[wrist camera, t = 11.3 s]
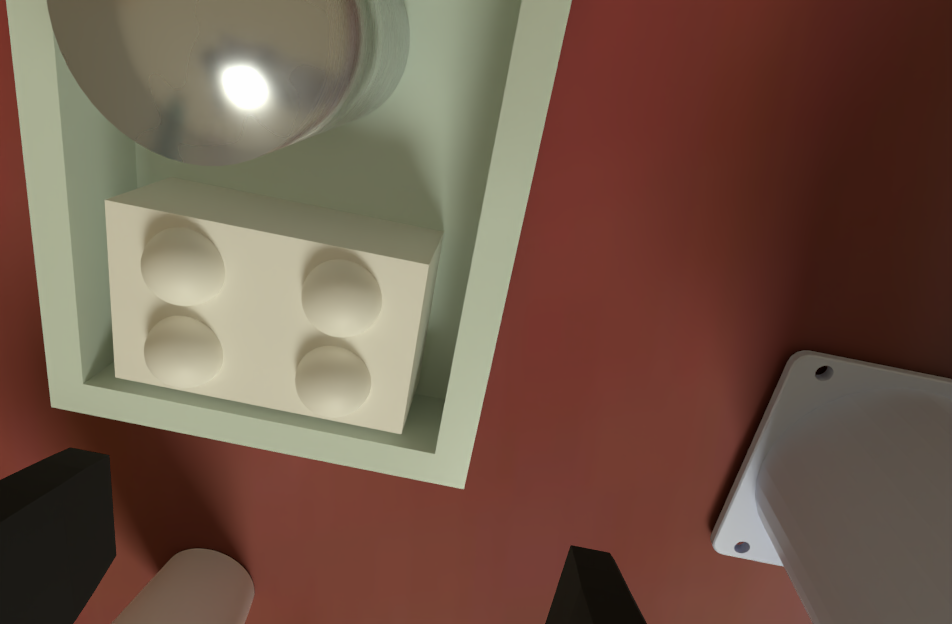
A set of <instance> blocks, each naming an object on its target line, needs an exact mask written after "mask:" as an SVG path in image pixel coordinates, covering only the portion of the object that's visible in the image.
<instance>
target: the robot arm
mask: <svg viewBox="0 0 952 624" xmlns="http://www.w3.org/2000/svg"><path fill="white" fill-rule="evenodd" d="M822 366H827V370H826V371H825V372H824V373H822V374H820V375H815V372H816V371H817V369H818V368H820V367H822ZM710 540H711V542H712V545H713V548H714V550H716V551H717V552H718V553H720V554H723V555H729V556H734V557H739V558H744V559H749V560H754V561H759V562H764V563H769V564H774V565H779V566H784V568H785V570H786V572H787V574H788V576H789V578H790V580H791V582H792V584H793V585H794V587H795V589H796V591H797V593H798V595H799V597H800V599H801V601H802V603H803V605H804V607H805V609H806V611H807V613H808V615H809V617H810V619H811V621H812V623H813V624H952V379H950V378H945V377H940V376H935V375H930V374H925V373H920V372H915V371H910V370H905V369H900V368H895V367H890V366H885V365H880V364H875V363H870V362H865V361H860V360H855V359H850V358H845V357H840V356H835V355H830V354H825V353H820V352H815V351H810V350H803V351H799V352H796V353H795V354H794V355H792V356H791V357H790V358H789V360H788V361H787V363H786V366H785V368H784V370H783V372H782V375H781V377H780V379H779V381H778V384H777V386H776V388H775V390H774V393H773V395H772V397H771V400H770V402H769V404H768V406H767V409H766V411H765V413H764V415H763V418H762V420H761V422H760V425H759V427H758V429H757V431H756V434H755V436H754V438H753V440H752V443H751V445H750V447H749V449H748V452H747V454H746V456H745V459H744V461H743V463H742V465H741V468H740V470H739V472H738V474H737V477H736V479H735V481H734V484H733V486H732V488H731V490H730V493H729V495H728V497H727V499H726V502H725V504H724V506H723V508H722V511H721V513H720V515H719V518H718V520H717V522H716V524H715V527H714V529H713V531H712V533H711V537H710ZM739 542H744V543H743V544H740V545H736V544H737V543H739ZM115 556H116V544H115V530H114V515H113V501H112V487H111V472H110V458H109V455H106V454H101V453H96V452H90V451H85V450H80V449H75V448H68V449H66V450H64V451H61V452H59V453H57V454H54V455H52V456H50V457H48V458H46V459H43V460H41V461H39V462H37V463H35V464H33V465H31V466H29V467H26V468H24V469H22V470H20V471H18V472H16V473H14V474H12V475H10V476H8V477H6V478H4V479H2V480H0V624H73V623H74V622H75V620H76V619H77V617H78V616H79V614H80V613H81V611H82V610H83V608H84V606H85V605H86V603H87V602H88V600H89V599H90V597H91V596H92V594H93V593H94V591H95V589H96V588H97V586H98V584H99V583H100V581H101V580H102V578H103V576H104V575H105V573H106V571H107V570H108V568H109V566H110V565H111V563H112V561H113V560H114V558H115ZM545 624H647V623H646V621H645V619H644V617H643V616H642V614H641V612H640V610H639V608H638V606H637V604H636V602H635V600H634V598H633V596H632V594H631V592H630V590H629V588H628V586H627V584H626V582H625V580H624V578H623V576H622V574H621V572H620V570H619V568H618V566H617V564H616V562H615V560H614V559H613V557H612V556H611V554H610V553H608V552H603V551H598V550H592V549H587V548H582V547H577V546H572V545H571V546H570V549H569V552H568V555H567V558H566V562H565V565H564V568H563V571H562V574H561V577H560V580H559V583H558V586H557V589H556V592H555V595H554V599H553V602H552V605H551V608H550V611H549V614H548V617H547V620H546V623H545Z"/></svg>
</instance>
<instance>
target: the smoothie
mask: <svg viewBox="0 0 952 624" xmlns="http://www.w3.org/2000/svg"><path fill="white" fill-rule="evenodd" d="M253 597H254V585H253V581H252V579H251V577H250V575H249V574H248V572H247V571H246V570H245V569H244V568H243V567H242V566H241V565H240V564H239V563H238V562H237V561H235V560H234V559H232V558H231V557H229V556H227V555H225V554H223V553H220V552H217V551H214V550H210V549H201V548H195V549H188V550H184V551H181V552H179V553H177V554H176V555H174V556H173V557H172V558H171V559H170V560H169V561H168V562H167V563H166V564H165V565H164V566H163V567H162V569H161V570H160V571H159V572H158V573H157V574H156V575H155V576H154V577H153V578H152V579H151V581H150V582H149V583H148V584H147V585H146V586H145V587H144V588H143V589H142V590H141V591H140V593H139V594H138V595H137V596H136V597H135V598H134V599H133V600H132V601H131V602H130V603H129V605H128V606H127V607H126V608H125V609H124V610H123V611H122V612H121V613H120V614H119V615H118V617H117V618H116V619H115V620H114V621H113V622H112V623H111V624H245V621H246V618H247V615H248V612H249V609H250V606H251V604H252V601H253Z"/></svg>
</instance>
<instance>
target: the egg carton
mask: <svg viewBox="0 0 952 624" xmlns="http://www.w3.org/2000/svg"><path fill="white" fill-rule="evenodd" d="M105 217H106V233H107V250H108V266H109V283H110V300H111V316H112V333H113V349H114V366H115V377H116V378H121V379H126V380H131V381H136V382H141V383H146V384H151V385H156V386H161V387H166V388H171V389H176V390H181V391H186V392H191V393H196V394H201V395H206V396H211V397H216V398H221V399H226V400H231V401H236V402H241V403H246V404H251V405H256V406H261V407H266V408H271V409H276V410H281V411H286V412H291V413H296V414H301V415H306V416H312V417H317V418H322V419H327V420H332V421H337V422H342V423H347V424H352V425H357V426H362V427H367V428H372V429H377V430H382V431H387V432H392V433H397V434H402V431H403V428H404V425H405V422H406V419H407V416H408V413H409V410H410V407H411V404H412V401H413V398H414V394H415V391H416V388H417V385H418V382H419V378H420V372H421V366H422V360H423V354H424V348H425V342H426V336H427V330H428V324H429V318H430V313H431V307H432V301H433V295H434V289H435V283H436V277H437V271H438V265H439V259H440V253H441V247H442V242H443V236H444V232H443V231H438V230H433V229H428V228H423V227H418V226H413V225H408V224H403V223H398V222H393V221H388V220H383V219H378V218H373V217H368V216H363V215H358V214H353V213H348V212H343V211H338V210H333V209H328V208H323V207H318V206H313V205H308V204H303V203H298V202H293V201H288V200H283V199H278V198H273V197H268V196H263V195H258V194H253V193H248V192H243V191H238V190H233V189H228V188H223V187H218V186H213V185H208V184H203V183H198V182H193V181H188V180H183V179H178V178H173V177H169V178H166V179H164V180H161V181H158V182H155V183H152V184H149V185H146V186H143V187H140V188H137V189H135V190H132V191H129V192H126V193H123V194H120V195H117V196H114V197H111V198H108V199H106V200H105Z"/></svg>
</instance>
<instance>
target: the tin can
mask: <svg viewBox="0 0 952 624" xmlns="http://www.w3.org/2000/svg"><path fill="white" fill-rule="evenodd" d="M47 7H48V12H49V16H50V20H51V25H52V29H53V32H54V35H55V38H56V40H57V43H58V46H59V49H60V51H61V53H62V55H63V58H64V60H65V62H66V64H67V66H68V68H69V70H70V72H71V73H72V75H73V77H74V78H75V80H76V82H77V83H78V85H79V87H80V88H81V89H82V91H83V92H84V93H85V95H86V96H87V97H88V99H89V100H90V101H91V103H92V104H93V105H94V106H95V107H96V108H97V109H98V110H99V112H100V113H101V114H102V115H103V116H104V117H105V118H106V119H107V120H108V121H109V122H110V123H112V124H113V125H114V126H115V127H116V128H117V129H118V130H119V131H121V132H122V133H123V134H125V135H126V136H128V137H129V138H130V139H132V140H133V141H135V142H136V143H138V144H140V145H141V146H143V147H145V148H147V149H149V150H150V151H152V152H155V153H157V154H159V155H162V156H164V157H167V158H169V159H172V160H176V161H180V162H183V163H187V164H194V165H201V166H224V165H232V164H238V163H242V162H245V161H249V160H252V159H255V158H257V157H260V156H263V155H265V154H268V153H271V152H273V151H276V150H278V149H281V148H284V147H286V146H289V145H292V144H294V143H297V142H299V141H302V140H305V139H307V138H310V137H312V136H315V135H318V134H320V133H323V132H326V131H328V130H331V129H333V128H336V127H339V126H341V125H344V124H347V123H349V122H352V121H354V120H357V119H360V118H362V117H364V116H366V115H368V114H370V113H372V112H373V111H375V110H376V109H378V108H379V107H380V106H381V105H382V104H383V103H385V102H386V100H387V99H388V98H389V97H390V96H391V95H392V93H393V92H394V90H395V89H396V87H397V86H398V84H399V82H400V80H401V78H402V76H403V74H404V71H405V68H406V65H407V60H408V55H409V48H410V27H409V21H408V15H407V11H406V8H405V4H404V1H403V0H47Z"/></svg>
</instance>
